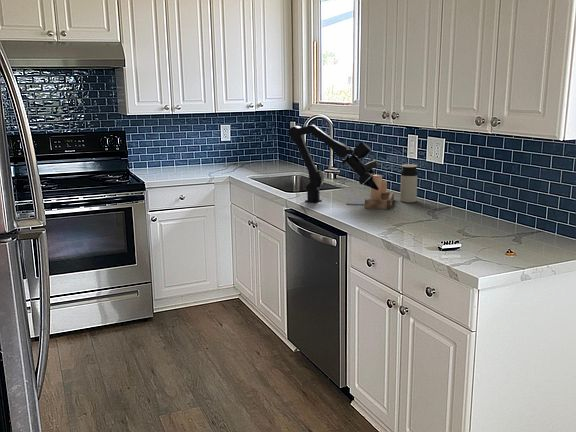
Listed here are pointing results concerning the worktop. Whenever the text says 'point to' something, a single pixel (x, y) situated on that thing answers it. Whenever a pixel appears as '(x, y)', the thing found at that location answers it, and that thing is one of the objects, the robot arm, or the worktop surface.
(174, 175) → the worktop surface
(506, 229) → the worktop surface
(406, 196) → the travel mug
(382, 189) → the tan rounded upright piece
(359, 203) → the mat
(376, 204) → the cradle
